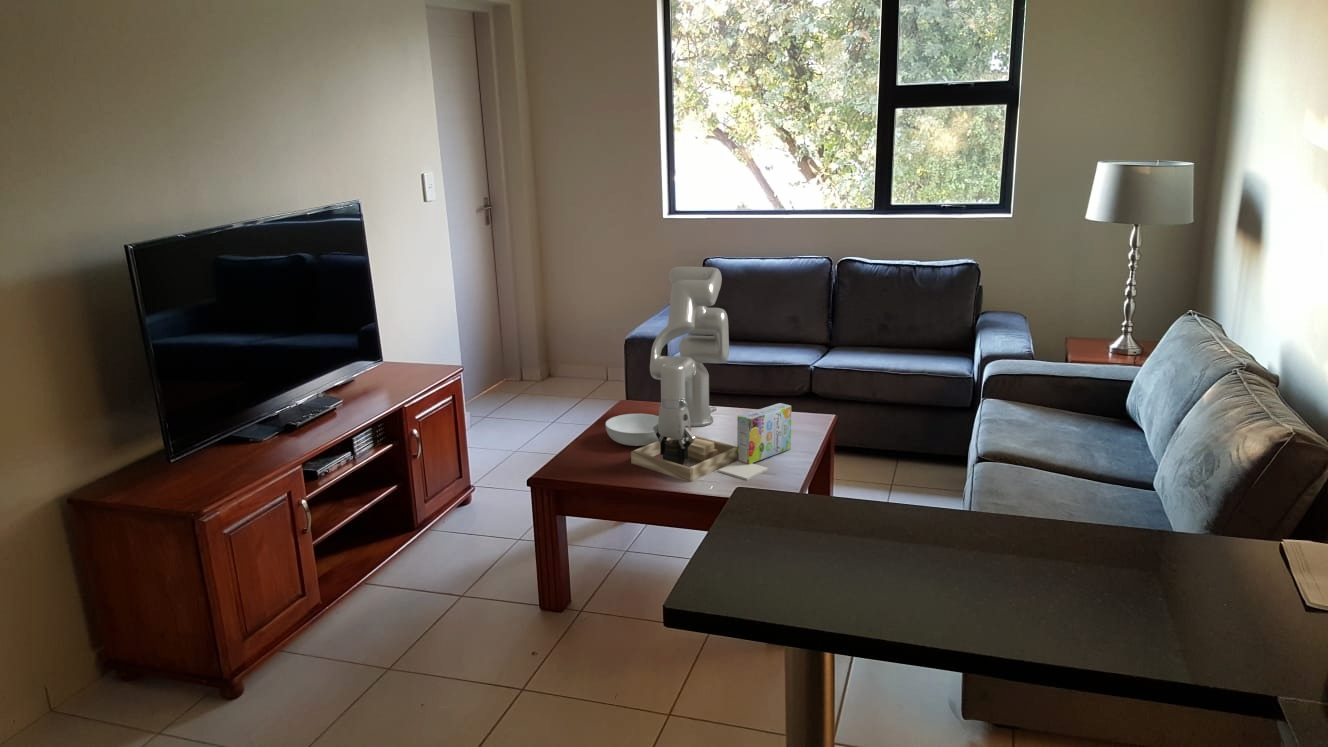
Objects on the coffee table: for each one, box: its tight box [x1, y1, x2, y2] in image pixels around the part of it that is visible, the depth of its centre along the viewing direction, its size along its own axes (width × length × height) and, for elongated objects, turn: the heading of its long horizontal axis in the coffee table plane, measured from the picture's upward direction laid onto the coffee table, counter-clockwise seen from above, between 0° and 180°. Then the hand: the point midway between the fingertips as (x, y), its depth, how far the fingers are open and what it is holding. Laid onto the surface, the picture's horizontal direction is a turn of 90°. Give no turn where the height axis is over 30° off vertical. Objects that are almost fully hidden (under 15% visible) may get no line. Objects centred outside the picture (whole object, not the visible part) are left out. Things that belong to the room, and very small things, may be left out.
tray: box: [630, 434, 737, 483], centre depth 286 cm, size 24×24×4 cm
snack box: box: [736, 402, 792, 464], centre depth 288 cm, size 21×6×15 cm, turn 135°
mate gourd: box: [662, 439, 686, 466], centre depth 282 cm, size 7×8×10 cm
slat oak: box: [688, 448, 718, 461], centre depth 290 cm, size 6×12×2 cm, turn 45°
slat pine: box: [683, 437, 714, 453], centre depth 290 cm, size 6×10×2 cm, turn 53°
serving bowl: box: [604, 413, 659, 447], centre depth 305 cm, size 21×21×7 cm
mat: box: [717, 461, 769, 481], centre depth 278 cm, size 11×11×1 cm
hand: (674, 456), depth 282 cm, fingers open, 7 cm apart
